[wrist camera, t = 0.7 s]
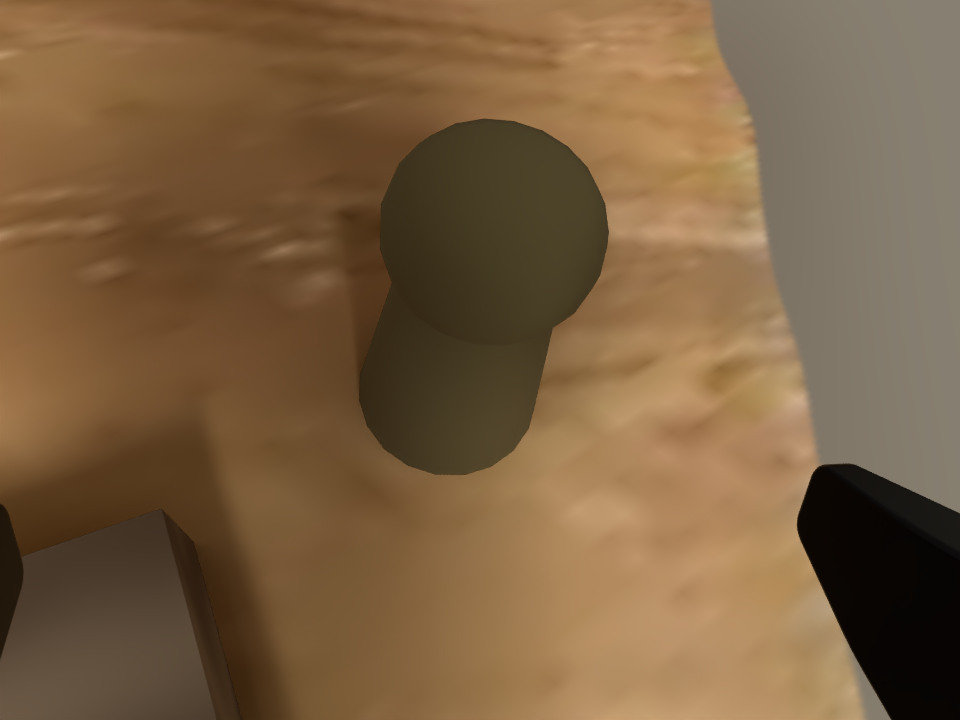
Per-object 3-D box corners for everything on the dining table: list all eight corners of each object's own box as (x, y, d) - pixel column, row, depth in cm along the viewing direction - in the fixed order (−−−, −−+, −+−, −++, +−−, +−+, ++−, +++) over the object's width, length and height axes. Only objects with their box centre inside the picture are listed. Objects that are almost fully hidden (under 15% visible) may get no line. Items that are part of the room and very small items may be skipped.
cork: (446, 282, 27) (498, 36, 17) (570, 392, 26) (701, 197, 16) (320, 386, 25) (296, 169, 15) (450, 514, 23) (519, 370, 14)
